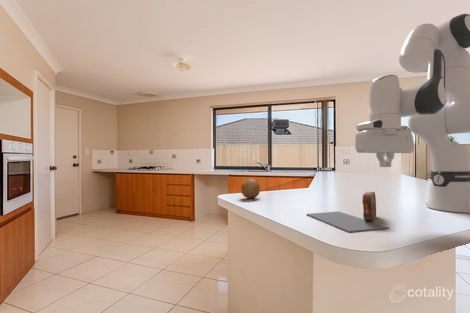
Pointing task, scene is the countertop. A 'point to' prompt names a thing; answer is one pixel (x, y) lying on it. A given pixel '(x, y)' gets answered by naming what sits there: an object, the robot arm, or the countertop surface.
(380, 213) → the countertop surface
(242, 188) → the onion
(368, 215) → the tin
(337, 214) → the rubber mat
